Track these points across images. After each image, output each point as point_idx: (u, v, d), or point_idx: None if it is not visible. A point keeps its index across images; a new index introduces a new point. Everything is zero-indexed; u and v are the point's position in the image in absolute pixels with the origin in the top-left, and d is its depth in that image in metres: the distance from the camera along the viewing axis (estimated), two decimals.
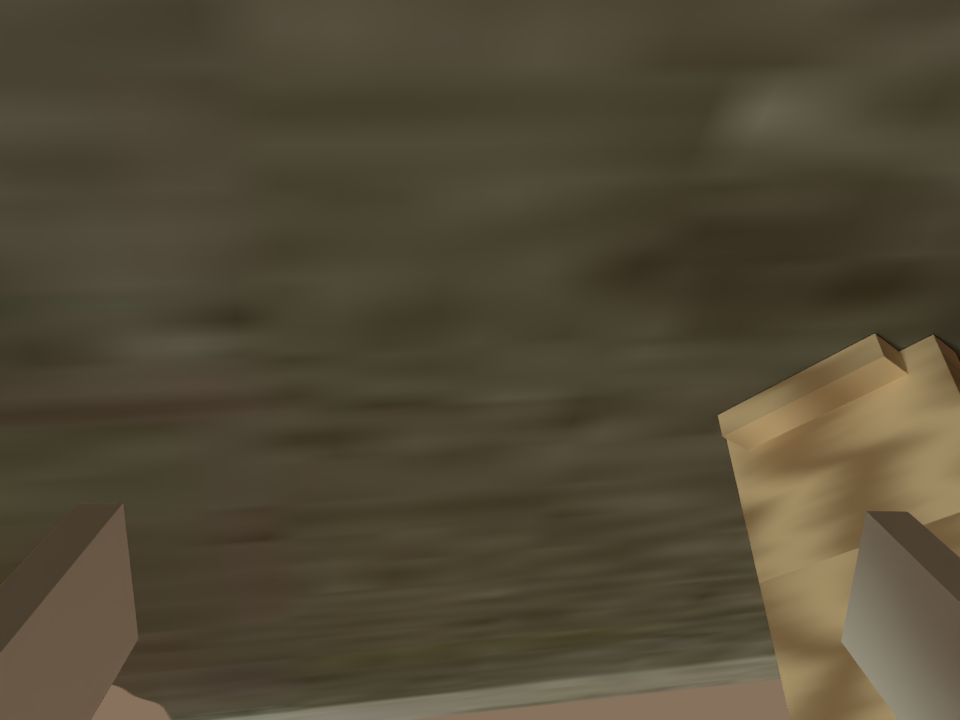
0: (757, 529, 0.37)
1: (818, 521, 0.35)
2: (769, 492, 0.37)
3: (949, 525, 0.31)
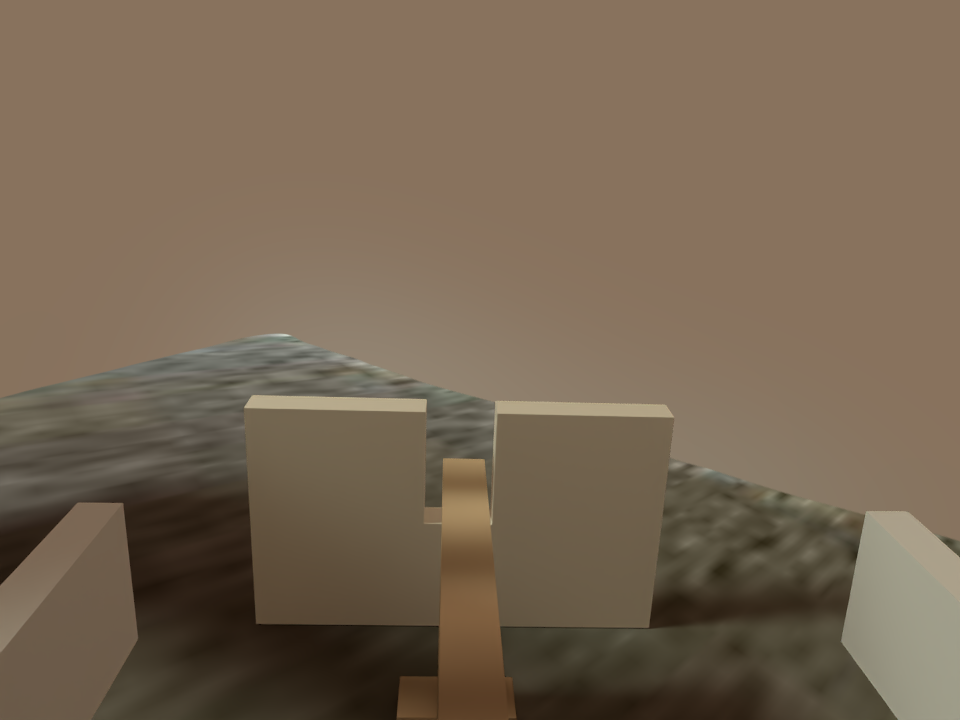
0: None
1: None
2: None
3: None
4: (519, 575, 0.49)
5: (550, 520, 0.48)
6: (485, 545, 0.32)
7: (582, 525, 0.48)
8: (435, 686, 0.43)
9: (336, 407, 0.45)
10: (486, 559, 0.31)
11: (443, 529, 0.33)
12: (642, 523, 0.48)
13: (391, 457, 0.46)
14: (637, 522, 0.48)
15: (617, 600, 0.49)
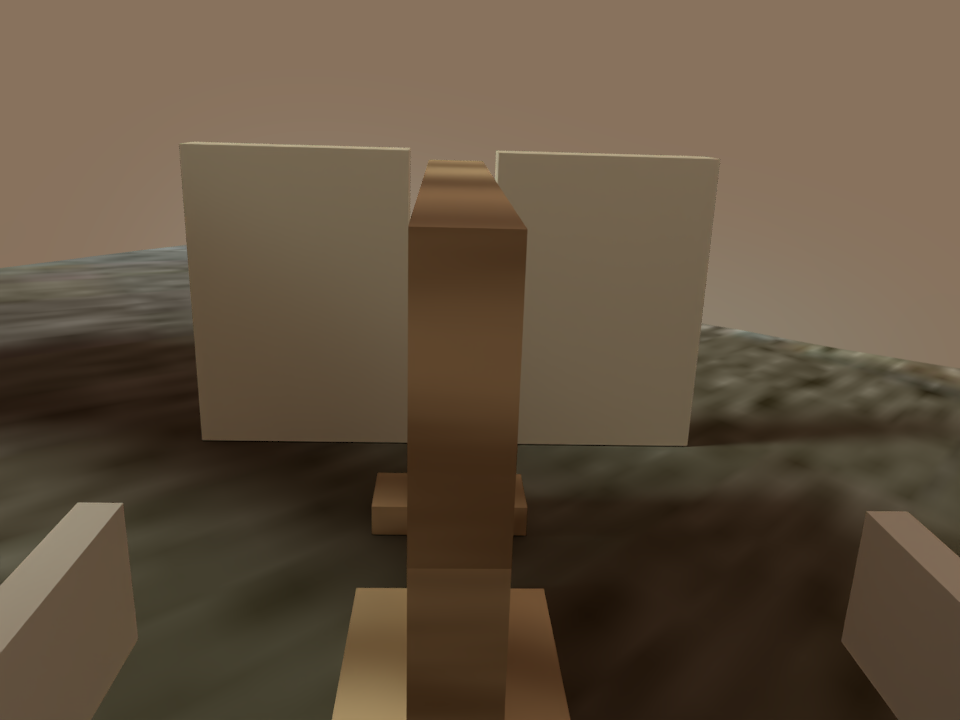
0: None
1: None
2: None
3: None
4: (527, 374, 0.39)
5: (565, 300, 0.38)
6: (485, 179, 0.23)
7: (605, 307, 0.39)
8: None
9: (296, 146, 0.36)
10: (486, 182, 0.22)
11: (426, 174, 0.24)
12: (679, 304, 0.39)
13: (366, 213, 0.37)
14: (673, 303, 0.38)
15: (648, 409, 0.40)
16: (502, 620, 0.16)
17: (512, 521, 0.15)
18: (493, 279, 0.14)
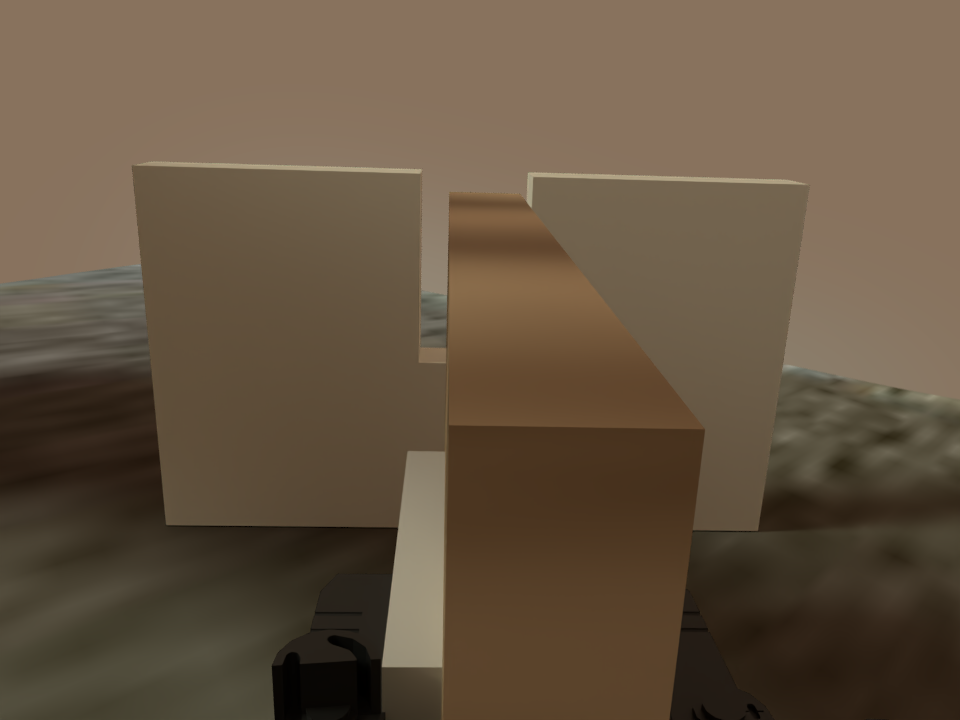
0: None
1: None
2: None
3: None
4: None
5: None
6: (541, 237, 0.15)
7: (662, 366, 0.31)
8: None
9: (280, 168, 0.29)
10: (545, 246, 0.14)
11: (452, 225, 0.16)
12: (754, 362, 0.31)
13: (367, 252, 0.29)
14: (746, 361, 0.31)
15: (711, 487, 0.33)
16: None
17: None
18: (625, 527, 0.07)
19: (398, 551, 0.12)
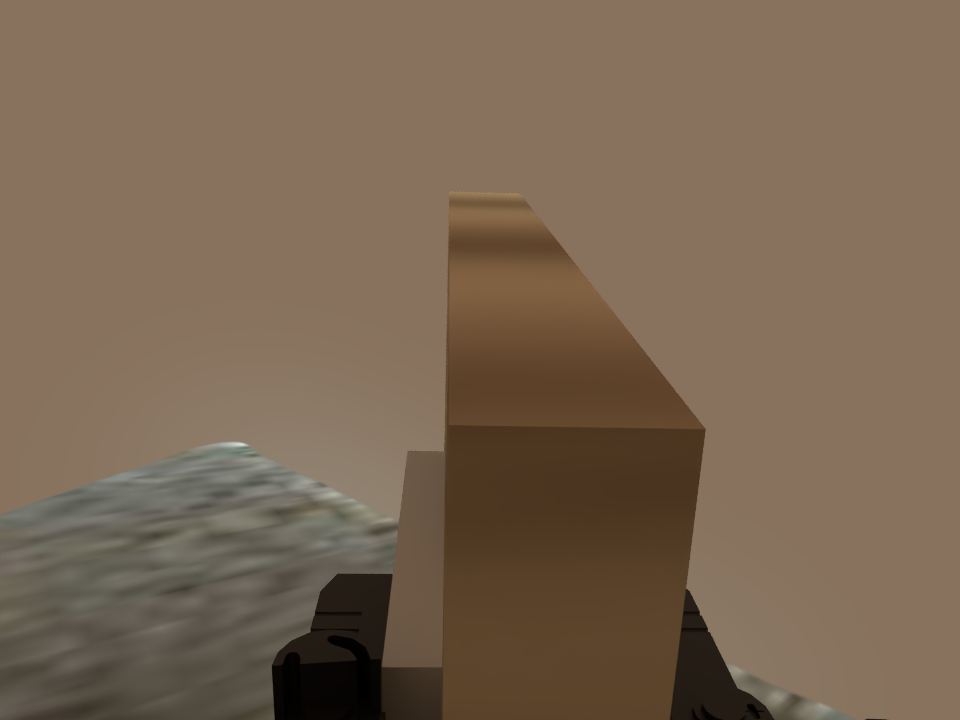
0: None
1: None
2: None
3: None
4: None
5: None
6: (540, 237, 0.15)
7: None
8: None
9: None
10: (545, 246, 0.14)
11: (452, 225, 0.16)
12: None
13: None
14: None
15: None
16: None
17: None
18: (625, 528, 0.07)
19: (398, 551, 0.12)
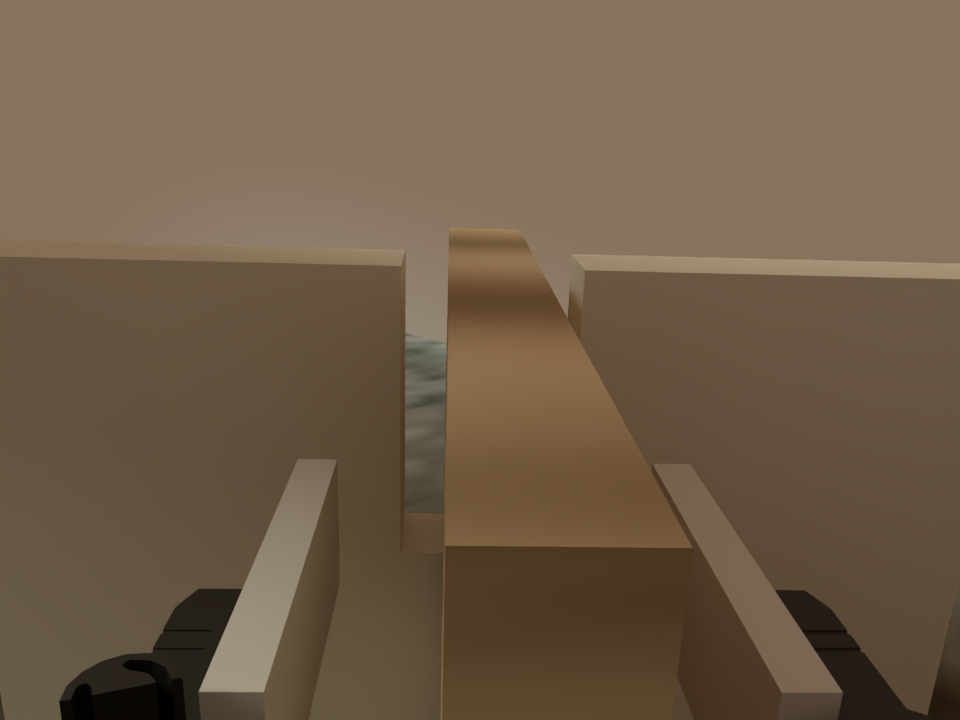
0: None
1: None
2: None
3: None
4: None
5: None
6: (539, 290, 0.16)
7: (779, 553, 0.20)
8: None
9: (173, 257, 0.18)
10: (542, 301, 0.15)
11: (451, 275, 0.17)
12: (922, 548, 0.20)
13: (316, 388, 0.18)
14: (910, 546, 0.20)
15: None
16: None
17: None
18: (616, 639, 0.07)
19: (255, 566, 0.12)
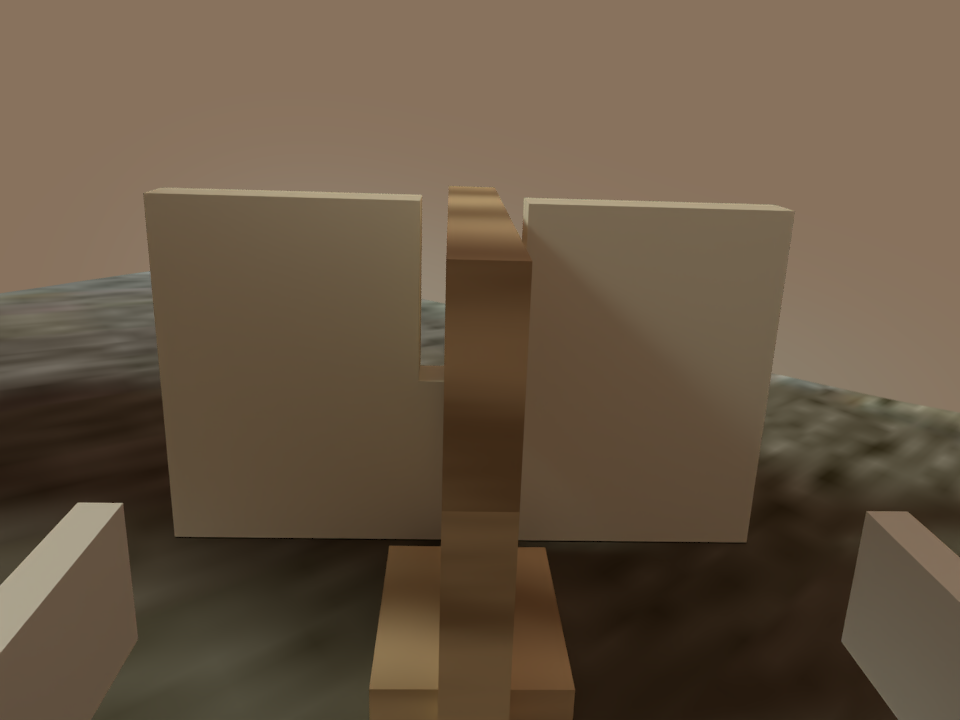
0: None
1: None
2: None
3: None
4: (559, 461, 0.33)
5: (606, 376, 0.32)
6: (498, 210, 0.28)
7: (653, 384, 0.32)
8: None
9: (285, 195, 0.30)
10: (499, 213, 0.27)
11: (449, 204, 0.29)
12: (742, 381, 0.32)
13: (369, 275, 0.31)
14: (734, 379, 0.32)
15: (701, 500, 0.34)
16: (512, 551, 0.21)
17: (520, 475, 0.20)
18: (507, 297, 0.19)
19: None
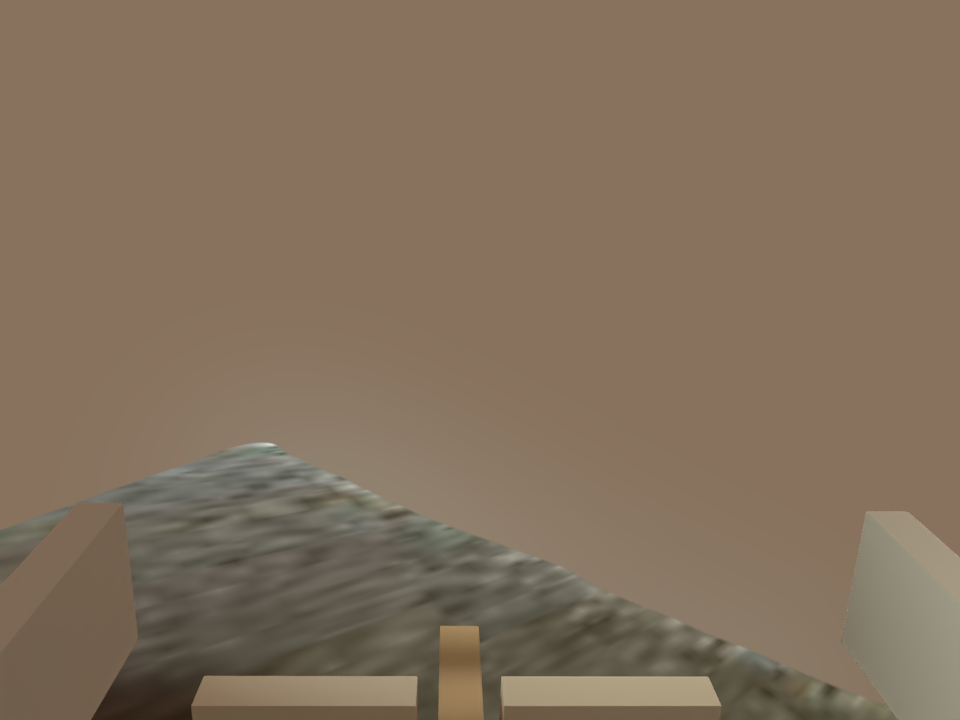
0: None
1: None
2: None
3: None
4: None
5: None
6: None
7: None
8: None
9: (306, 700, 0.37)
10: None
11: None
12: None
13: None
14: None
15: None
16: None
17: None
18: None
19: None
